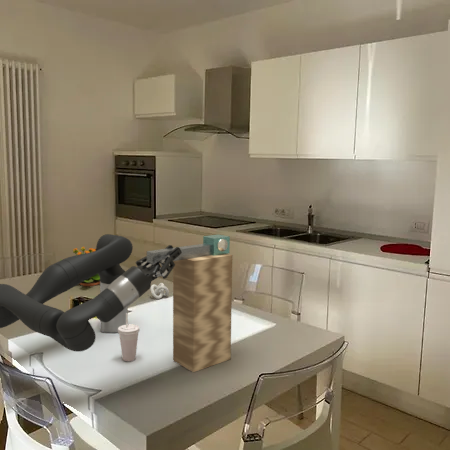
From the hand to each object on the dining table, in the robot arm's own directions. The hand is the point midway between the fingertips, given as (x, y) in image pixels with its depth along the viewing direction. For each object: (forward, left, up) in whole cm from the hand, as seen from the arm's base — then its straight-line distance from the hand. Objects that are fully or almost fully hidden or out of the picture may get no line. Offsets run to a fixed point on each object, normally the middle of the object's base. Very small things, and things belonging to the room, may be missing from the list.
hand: (175, 248), depth 131 cm
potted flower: (-24, +100, -35) cm, 109 cm away
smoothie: (-12, +10, -35) cm, 39 cm away
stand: (+9, +4, -35) cm, 36 cm away
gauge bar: (+4, +2, -3) cm, 5 cm away
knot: (+6, +71, -35) cm, 80 cm away
